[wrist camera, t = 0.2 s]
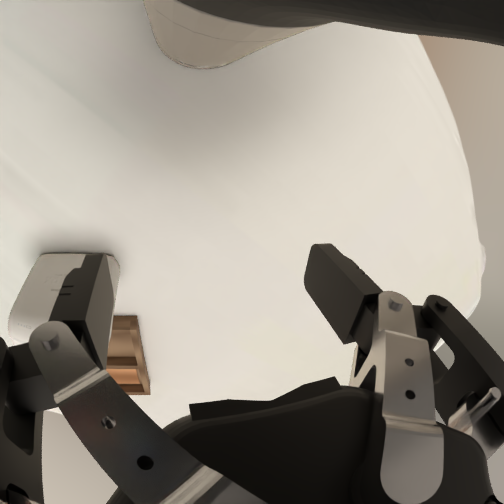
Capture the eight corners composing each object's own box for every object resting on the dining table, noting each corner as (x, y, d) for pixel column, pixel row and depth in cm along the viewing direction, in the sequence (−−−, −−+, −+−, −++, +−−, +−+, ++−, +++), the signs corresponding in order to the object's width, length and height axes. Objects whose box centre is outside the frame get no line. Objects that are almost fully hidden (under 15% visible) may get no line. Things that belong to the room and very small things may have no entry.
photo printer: (119, 251, 28) (102, 341, 18) (122, 283, 30) (112, 374, 20) (36, 249, 24) (-7, 329, 14) (44, 280, 27) (11, 362, 17)
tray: (32, 313, 28) (26, 329, 26) (137, 315, 33) (136, 333, 30) (65, 379, 36) (63, 394, 33) (149, 382, 40) (150, 397, 38)
